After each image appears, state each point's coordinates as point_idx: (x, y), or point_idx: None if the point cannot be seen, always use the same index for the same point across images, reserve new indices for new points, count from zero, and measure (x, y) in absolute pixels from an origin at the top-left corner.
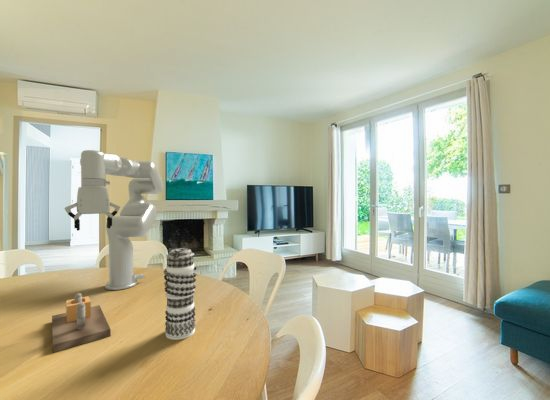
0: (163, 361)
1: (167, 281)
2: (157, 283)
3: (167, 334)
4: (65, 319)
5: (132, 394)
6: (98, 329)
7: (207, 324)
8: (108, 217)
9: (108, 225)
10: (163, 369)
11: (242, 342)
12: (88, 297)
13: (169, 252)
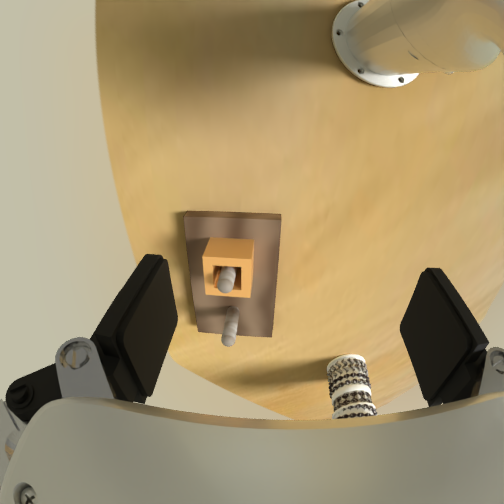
0: (299, 393)
1: None
2: (459, 115)
3: (329, 367)
4: None
5: (261, 405)
6: (256, 329)
7: (380, 365)
8: (441, 401)
9: (407, 346)
10: (293, 399)
11: None
12: (249, 269)
13: None
